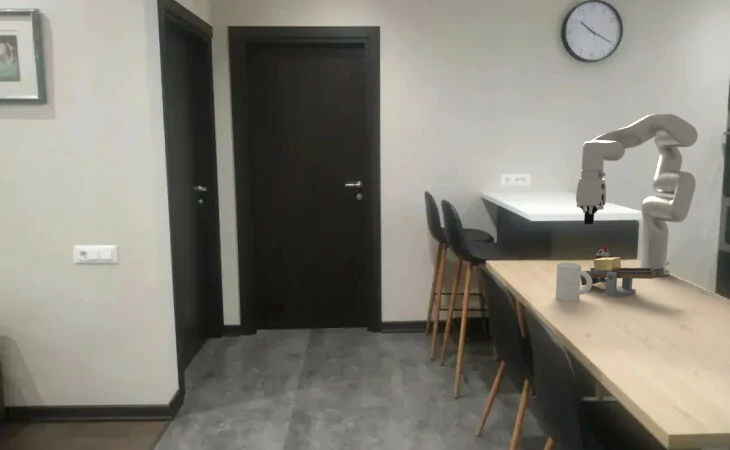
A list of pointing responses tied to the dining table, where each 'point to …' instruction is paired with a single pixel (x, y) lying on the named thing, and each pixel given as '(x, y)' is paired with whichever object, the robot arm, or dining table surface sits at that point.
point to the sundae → (603, 254)
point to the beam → (625, 274)
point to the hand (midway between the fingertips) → (588, 223)
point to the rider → (607, 264)
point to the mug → (571, 282)
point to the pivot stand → (617, 291)
